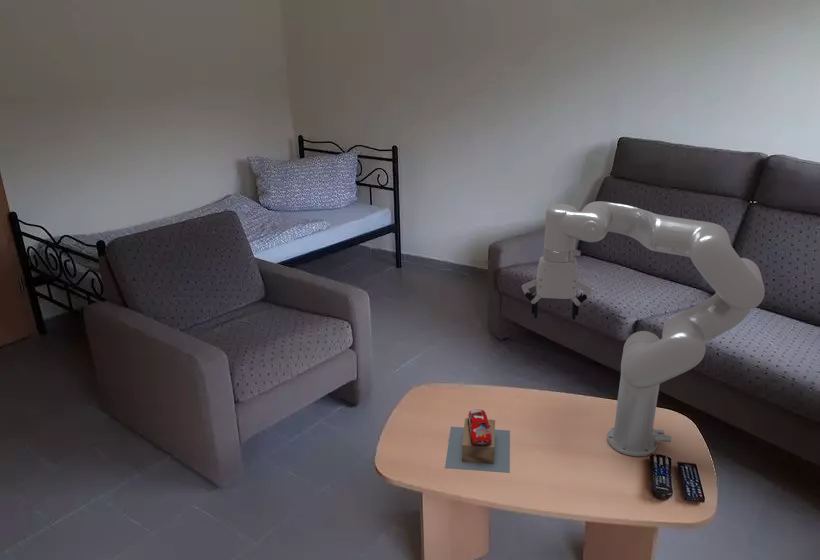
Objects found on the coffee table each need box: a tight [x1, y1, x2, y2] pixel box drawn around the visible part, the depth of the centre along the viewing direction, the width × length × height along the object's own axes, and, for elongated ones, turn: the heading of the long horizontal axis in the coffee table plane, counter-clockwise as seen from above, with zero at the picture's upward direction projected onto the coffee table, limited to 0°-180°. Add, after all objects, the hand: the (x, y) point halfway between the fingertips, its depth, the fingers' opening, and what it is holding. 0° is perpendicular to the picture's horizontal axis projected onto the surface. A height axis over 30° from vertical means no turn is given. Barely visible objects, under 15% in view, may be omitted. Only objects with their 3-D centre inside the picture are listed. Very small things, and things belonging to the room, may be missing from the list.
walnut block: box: [462, 417, 496, 464], centre depth 173 cm, size 8×12×5 cm, turn 172°
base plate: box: [444, 426, 511, 474], centre depth 174 cm, size 16×18×1 cm
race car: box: [467, 409, 492, 446], centre depth 171 cm, size 13×5×4 cm, turn 0°
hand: (554, 316), depth 173 cm, fingers open, 9 cm apart
